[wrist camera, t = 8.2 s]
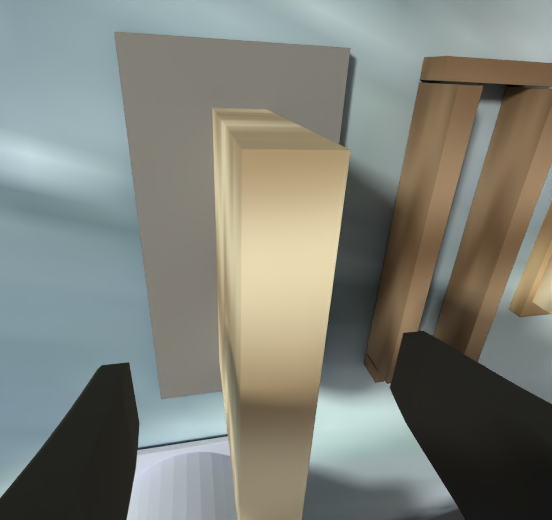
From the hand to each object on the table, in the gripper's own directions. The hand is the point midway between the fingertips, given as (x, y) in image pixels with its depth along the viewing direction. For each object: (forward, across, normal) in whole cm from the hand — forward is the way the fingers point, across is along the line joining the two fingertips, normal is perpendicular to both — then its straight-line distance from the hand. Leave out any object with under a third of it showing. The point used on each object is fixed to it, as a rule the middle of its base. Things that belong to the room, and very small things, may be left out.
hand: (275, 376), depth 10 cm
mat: (+8, 0, 0) cm, 8 cm away
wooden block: (+7, 0, 0) cm, 7 cm away
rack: (+8, -10, 0) cm, 13 cm away
